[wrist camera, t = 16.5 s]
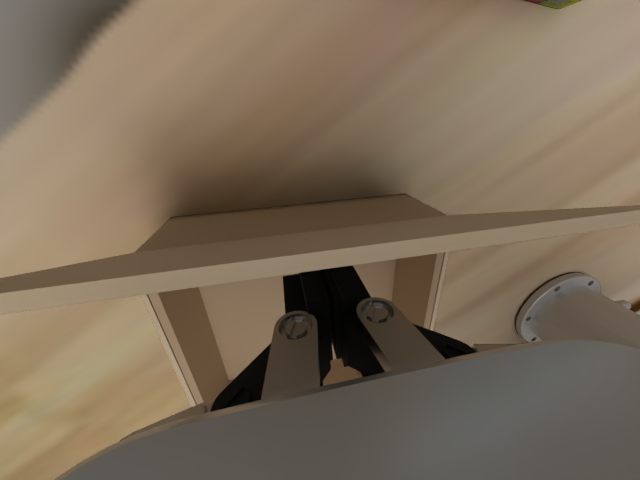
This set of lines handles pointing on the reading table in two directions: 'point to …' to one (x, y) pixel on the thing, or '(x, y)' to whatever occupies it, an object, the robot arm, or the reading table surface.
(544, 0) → the snack box
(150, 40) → the reading table surface
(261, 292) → the carton
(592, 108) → the reading table surface
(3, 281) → the flap
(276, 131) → the reading table surface
